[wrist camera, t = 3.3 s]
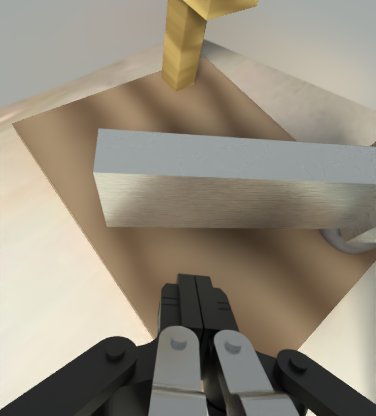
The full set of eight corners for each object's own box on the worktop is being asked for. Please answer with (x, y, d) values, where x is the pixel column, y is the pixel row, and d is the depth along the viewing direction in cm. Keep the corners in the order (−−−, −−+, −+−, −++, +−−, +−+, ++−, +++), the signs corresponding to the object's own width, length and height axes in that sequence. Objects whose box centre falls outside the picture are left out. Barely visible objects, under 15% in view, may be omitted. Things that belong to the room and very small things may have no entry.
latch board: (201, 65, 32) (232, -76, 21) (386, 239, 24) (574, 154, 14) (17, 133, 23) (-81, -44, 13) (215, 432, 16) (362, 587, 5)
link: (377, 188, 23) (449, 138, 17) (401, 242, 20) (492, 205, 15) (111, 178, 19) (100, 112, 14) (105, 243, 17) (90, 193, 12)
